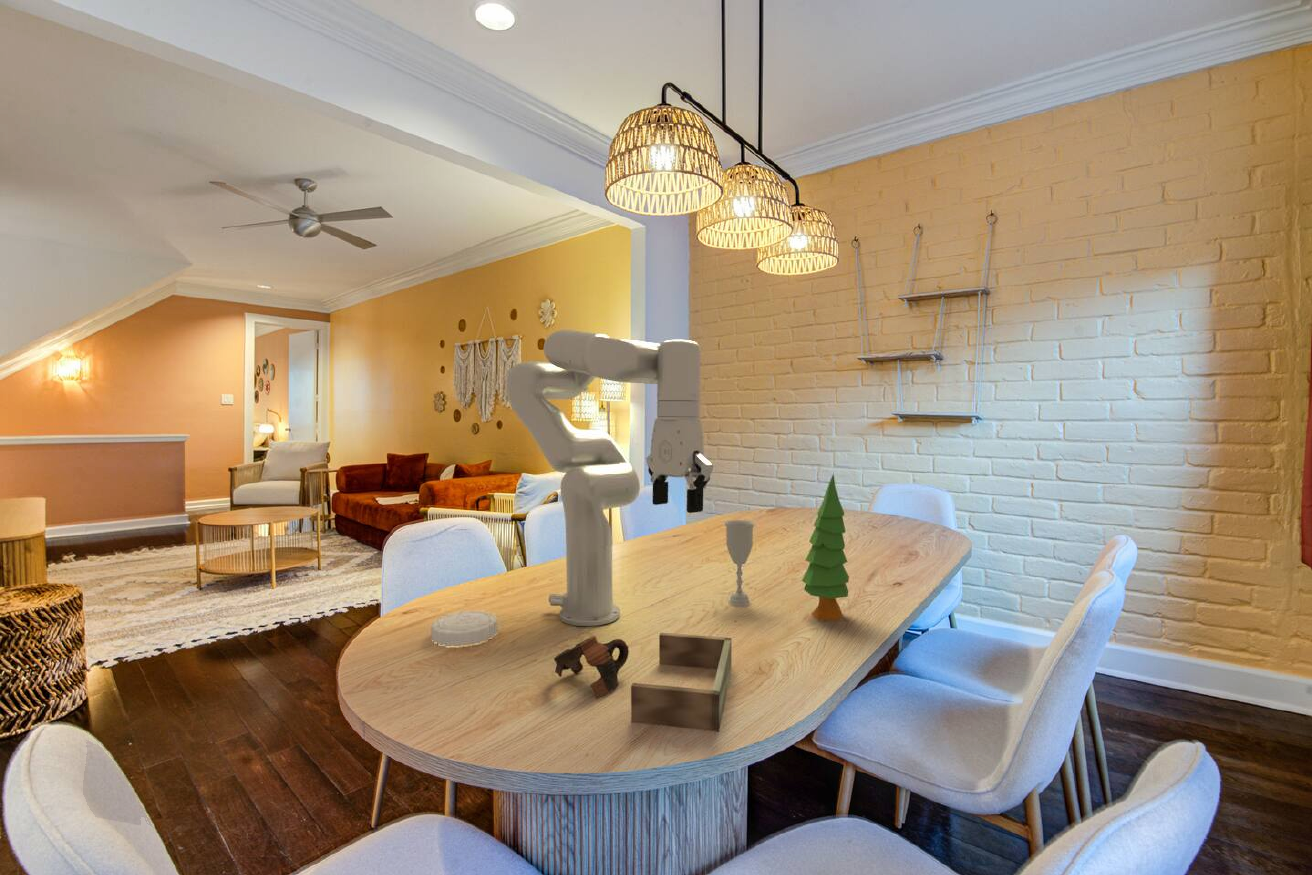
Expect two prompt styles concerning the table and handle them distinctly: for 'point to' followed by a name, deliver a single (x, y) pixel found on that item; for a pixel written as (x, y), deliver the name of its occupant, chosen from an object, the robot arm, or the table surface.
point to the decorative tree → (827, 558)
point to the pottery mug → (595, 662)
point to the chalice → (739, 554)
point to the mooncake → (464, 628)
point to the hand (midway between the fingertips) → (676, 507)
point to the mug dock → (681, 702)
